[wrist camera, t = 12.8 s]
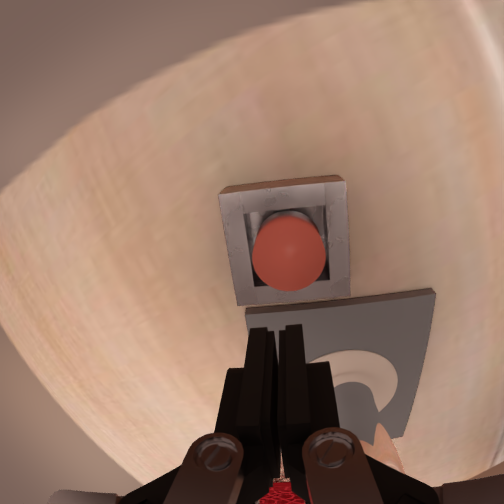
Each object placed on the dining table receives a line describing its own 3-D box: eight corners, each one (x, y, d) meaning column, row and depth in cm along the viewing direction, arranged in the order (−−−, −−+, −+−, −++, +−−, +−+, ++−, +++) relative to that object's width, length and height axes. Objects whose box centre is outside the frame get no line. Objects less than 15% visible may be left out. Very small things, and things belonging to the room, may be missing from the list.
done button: (322, 268, 22) (327, 287, 19) (260, 273, 23) (257, 294, 20) (317, 207, 21) (323, 219, 18) (252, 214, 21) (247, 226, 18)
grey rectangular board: (400, 430, 31) (402, 437, 30) (271, 445, 33) (270, 453, 32) (431, 288, 24) (436, 294, 23) (246, 308, 26) (244, 315, 25)
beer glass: (313, 420, 29) (316, 551, 15) (306, 374, 27) (311, 530, 13) (378, 409, 28) (405, 535, 14) (382, 362, 26) (424, 508, 12)
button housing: (343, 277, 24) (350, 295, 21) (242, 286, 25) (237, 305, 23) (337, 174, 22) (345, 181, 19) (226, 186, 23) (218, 194, 20)
